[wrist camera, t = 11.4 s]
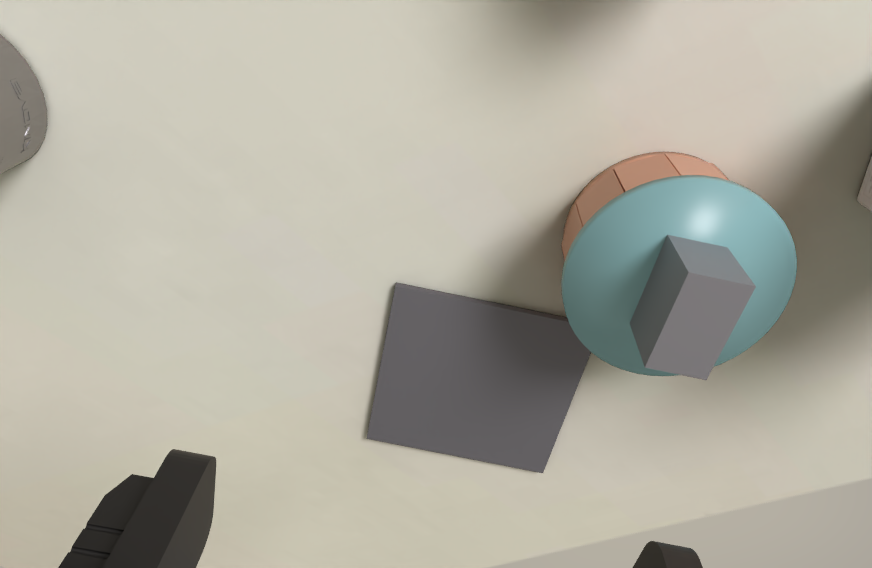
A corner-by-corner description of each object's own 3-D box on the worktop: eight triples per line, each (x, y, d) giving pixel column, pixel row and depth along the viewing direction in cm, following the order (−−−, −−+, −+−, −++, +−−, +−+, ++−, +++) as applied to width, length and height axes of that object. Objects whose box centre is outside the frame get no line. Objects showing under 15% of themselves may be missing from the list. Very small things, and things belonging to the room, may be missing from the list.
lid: (535, 344, 37) (541, 398, 33) (601, 152, 31) (619, 188, 27) (731, 385, 38) (761, 442, 34) (834, 202, 32) (885, 245, 28)
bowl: (542, 291, 42) (549, 339, 37) (594, 134, 36) (610, 166, 32) (700, 324, 42) (726, 375, 37) (774, 173, 37) (817, 210, 32)
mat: (367, 434, 49) (366, 438, 49) (396, 282, 42) (395, 286, 42) (542, 468, 50) (542, 473, 49) (599, 324, 43) (600, 328, 42)
